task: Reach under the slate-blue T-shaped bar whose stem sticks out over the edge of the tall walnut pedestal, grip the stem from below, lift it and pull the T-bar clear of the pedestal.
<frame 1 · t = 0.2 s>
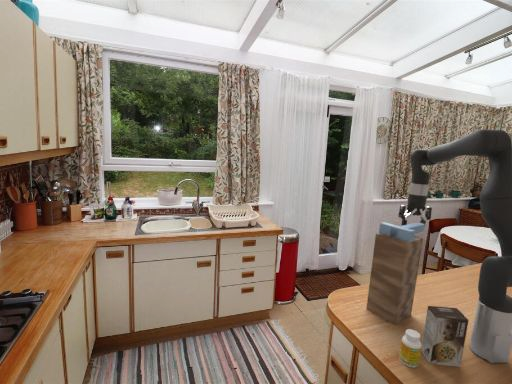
hand: (412, 227, 133), 29 cm above the kitchen counter, tool pointing down, fingers open, 8 cm apart
t bar: (404, 234, 111), point 32 cm above the kitchen counter, touching pedestal
supplement bottle: (408, 361, 89), on the kitchen counter
pedestal: (388, 311, 115), on the kitchen counter
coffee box: (439, 358, 91), on the kitchen counter
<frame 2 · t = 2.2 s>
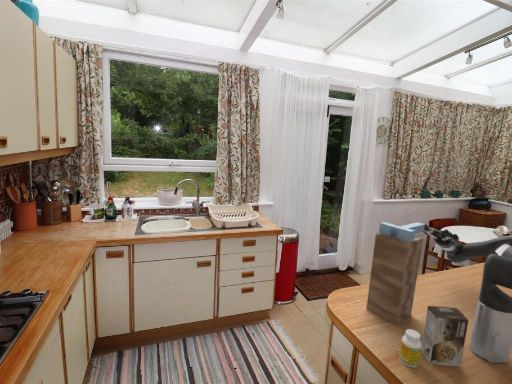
hand: (434, 228, 126), 31 cm above the kitchen counter, tool pointing upward, fingers open, 8 cm apart
nothing on the kitchen counter moved.
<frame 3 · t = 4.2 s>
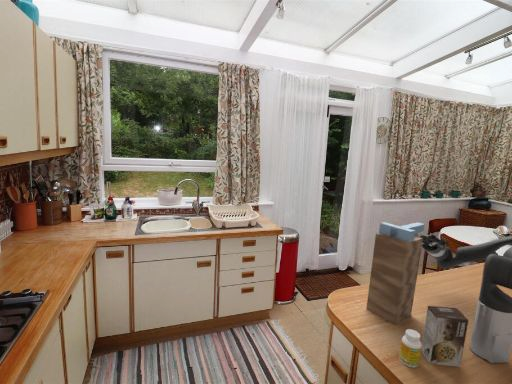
hand: (420, 233, 119), 30 cm above the kitchen counter, tool pointing upward, fingers open, 8 cm apart
nothing on the kitchen counter moved.
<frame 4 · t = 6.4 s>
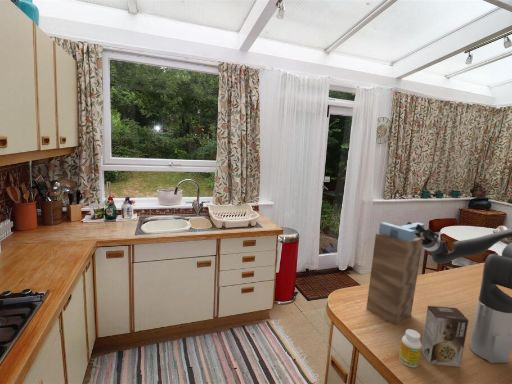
hand: (413, 225, 114), 35 cm above the kitchen counter, tool pointing upward, fingers closed on t bar, 3 cm apart
t bar: (404, 234, 111), point 32 cm above the kitchen counter, touching gripper, pedestal
everything else where it was.
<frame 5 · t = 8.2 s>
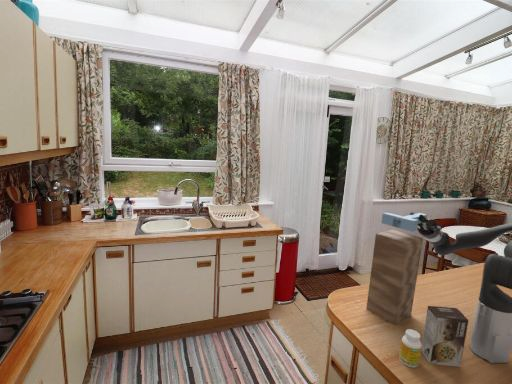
hand: (415, 215, 114), 39 cm above the kitchen counter, tool pointing upward, fingers closed on t bar, 3 cm apart
t bar: (407, 224, 111), point 36 cm above the kitchen counter, touching gripper
everything else where it was.
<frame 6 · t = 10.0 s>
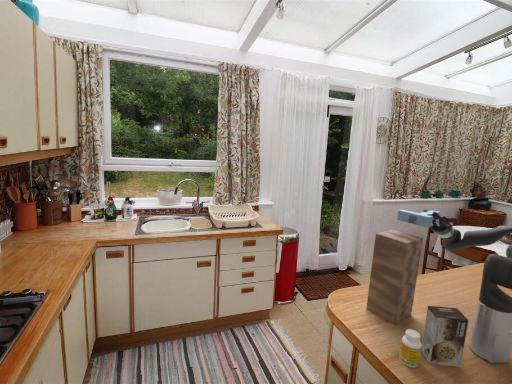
hand: (429, 212, 120), 39 cm above the kitchen counter, tool pointing upward, fingers closed on t bar, 3 cm apart
t bar: (421, 221, 118), point 36 cm above the kitchen counter, touching gripper
everything else where it was.
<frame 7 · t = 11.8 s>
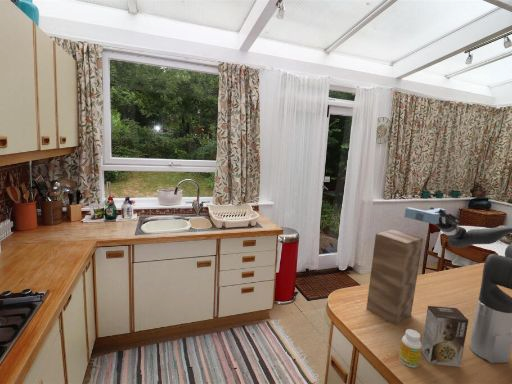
hand: (435, 210, 123), 39 cm above the kitchen counter, tool pointing upward, fingers closed on t bar, 3 cm apart
t bar: (428, 218, 121), point 36 cm above the kitchen counter, touching gripper
everything else where it was.
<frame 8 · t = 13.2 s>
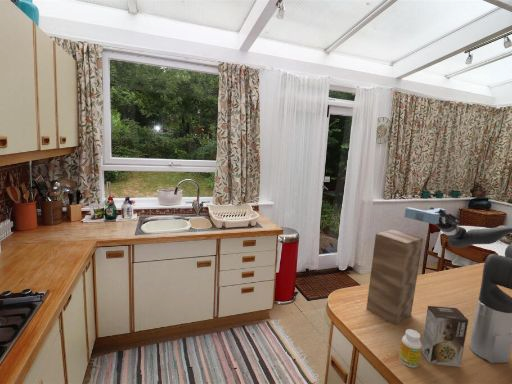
hand: (435, 210, 123), 39 cm above the kitchen counter, tool pointing upward, fingers closed on t bar, 3 cm apart
t bar: (428, 218, 121), point 36 cm above the kitchen counter, touching gripper
everything else where it was.
at the end: the gripper is holding t bar; t bar touching gripper; t bar moved 18.5 cm from its start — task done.
